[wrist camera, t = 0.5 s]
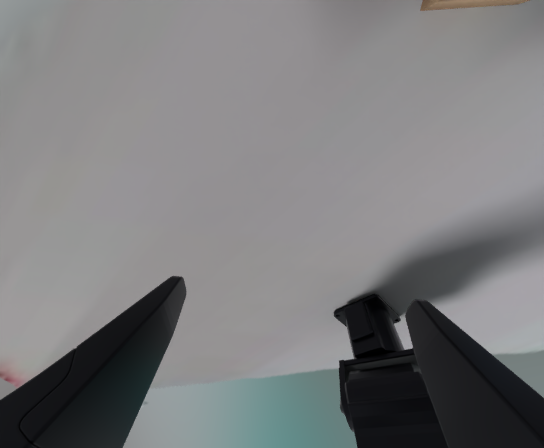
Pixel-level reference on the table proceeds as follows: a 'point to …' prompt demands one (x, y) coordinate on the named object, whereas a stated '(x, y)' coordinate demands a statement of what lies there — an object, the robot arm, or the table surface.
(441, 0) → the walnut block
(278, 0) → the table surface
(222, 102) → the table surface
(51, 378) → the robot arm
